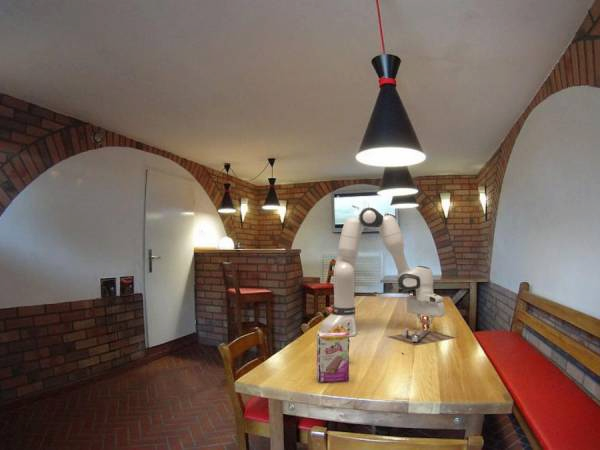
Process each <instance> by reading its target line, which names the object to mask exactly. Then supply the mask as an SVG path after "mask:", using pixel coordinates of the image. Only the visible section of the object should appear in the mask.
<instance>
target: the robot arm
mask: <svg viewBox="0 0 600 450" xmlns="http://www.w3.org/2000/svg"><path fill="white" fill-rule="evenodd" d="M373 228H375V229H377V230H378V233H379V234H380V239H381V240H382V243H383V246H384V247H385V249H386V250H387V252H388V253H389V254H390V256H392V259H393V261H394V264H395V267H396V270H397V284H398V287H399V288H400V289H401V290H403V291H407V292H408V291H412V290H415V295H409V296H407V298H406V302H407V303H406V312H407V313H410V314H415V315H416V317H417V319H418V322H419V324H420V323H421V324H422V316H429V321H428V324H429V325H433V320H434V319H435V317H439V318H442V317H444V316H446V308H445V303H444V302H443V301H444V297H443V296H441V295H438V294H436V293H434V288H433V287H434V286H433V285H434V278H433V277H434V275H433V271H432V269H431V268H430V267H428V266H423V265H418V266H416V267H414V268H413V269H410V268H409V266H408V262H407V258H406V256H405V250H404V249H405V242H404V236H403V233H402V230H401V228H400V226H399V223H398V222H397V219H396V218H395V217H394V216H393V215H388V214H387V215H383V214H381V213H380V212H379V211H378V210H377V209H376V208H373V207H366V208H364V209H362V210H361V212H360V213H359V216H358V217H354V216H353V217H352V216H351V217H348V218H346V219H345V221H344V223H343V227H342V228H341V233H340V237H339V243H338V246H337V247H338V249H337V251H336V252H337V253H336V259H335V263H334V264H335V265H334V269H333V304H334V305H333V307H328V308H327V310H328V312H331V313H330V315H328V316H327V317H326V318H325V319H324V320H323V321H322V322H321V327H320V328H321V329H320V330H317V331H316V334H317V333H328V331H332V332H333V330H332V328H333V329H334V328H336V327H337V326H339V328H340V330H341V328H342V329H343V327H342V326H341V325H343V326H344V328H345V330H346V334H347V332H350V334H349V337H356V336H357V335H358V329H357V324H356V315H355V314H356V306H355V267H356V263H357V257H358V253H359V248H360V244H361V239H362V233H363V231H364V230H366V229H367V230H368V229H373ZM341 332H342V330H341ZM337 333H338V331H337Z"/></svg>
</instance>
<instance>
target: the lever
mask: <svg viewBox="0 0 600 450" xmlns="http://www.w3.org/2000/svg"><path fill="white" fill-rule="evenodd" d="M421 318H422V323H421V327H422V328H421V329H419V330H418V331H417V333H416V334H413V335H412V341H414V342H420V339H421V338H422V337H423V336H424V335H425V334H426V333H428V332H429V331H430V324H428V321H429V320H430V315H421Z"/></svg>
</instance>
